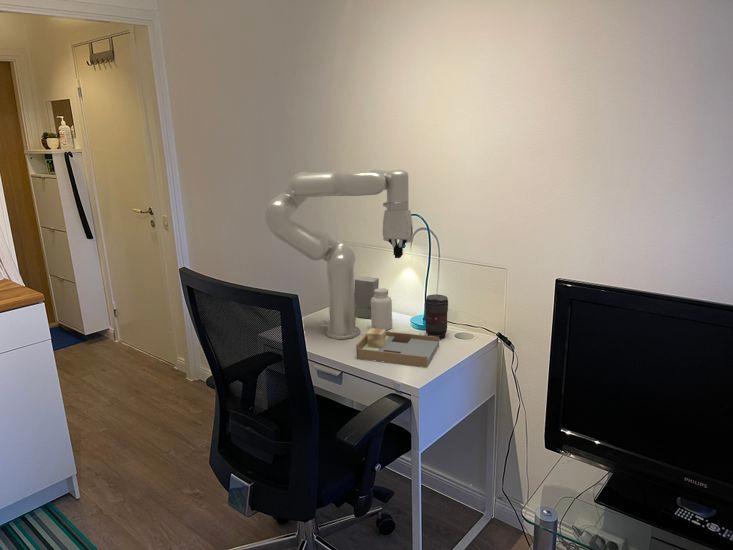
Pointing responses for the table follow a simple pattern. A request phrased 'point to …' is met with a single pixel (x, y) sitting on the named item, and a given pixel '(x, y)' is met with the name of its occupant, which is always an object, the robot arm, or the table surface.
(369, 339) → the block
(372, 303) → the pill bottle
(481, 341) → the table surface
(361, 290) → the skincare box
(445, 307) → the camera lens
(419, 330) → the table surface
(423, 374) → the table surface
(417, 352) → the box
